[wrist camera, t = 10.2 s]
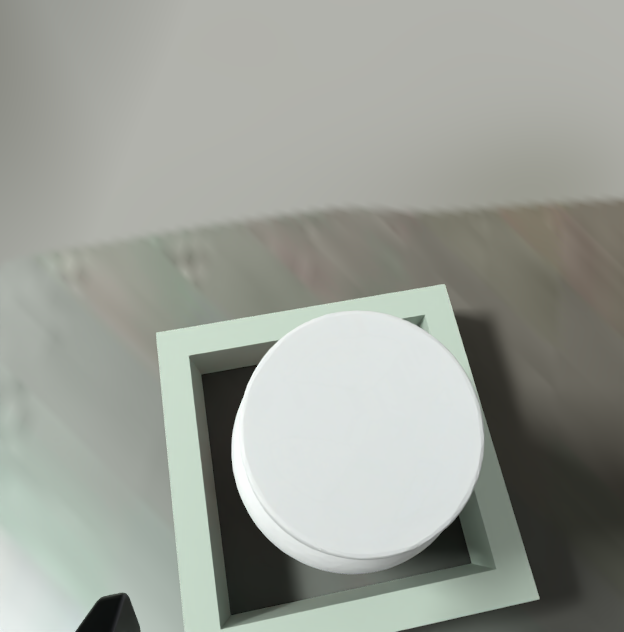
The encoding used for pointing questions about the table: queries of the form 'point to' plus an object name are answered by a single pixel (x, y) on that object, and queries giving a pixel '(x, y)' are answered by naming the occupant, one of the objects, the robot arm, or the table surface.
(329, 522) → the pill bottle
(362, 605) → the bottle holder
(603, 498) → the table surface
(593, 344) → the table surface
